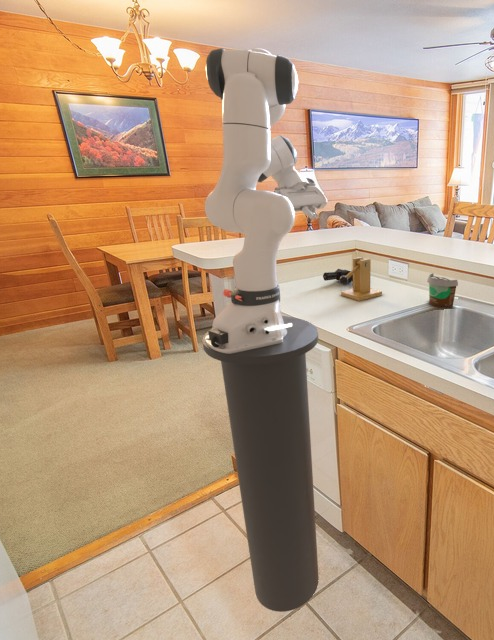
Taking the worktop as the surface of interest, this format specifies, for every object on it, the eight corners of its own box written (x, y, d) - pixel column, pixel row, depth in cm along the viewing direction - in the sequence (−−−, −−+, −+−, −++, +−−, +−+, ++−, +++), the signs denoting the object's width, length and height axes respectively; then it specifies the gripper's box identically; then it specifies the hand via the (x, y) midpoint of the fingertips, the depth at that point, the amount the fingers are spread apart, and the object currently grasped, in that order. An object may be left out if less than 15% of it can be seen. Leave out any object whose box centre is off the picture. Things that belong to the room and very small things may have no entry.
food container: (418, 302, 159) (420, 275, 155) (430, 299, 163) (432, 272, 159) (444, 311, 151) (446, 282, 147) (455, 307, 154) (458, 279, 150)
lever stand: (358, 301, 159) (358, 263, 153) (341, 295, 165) (340, 258, 159) (382, 294, 167) (382, 258, 161) (364, 289, 173) (364, 254, 167)
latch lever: (345, 287, 157) (341, 280, 155) (339, 285, 159) (336, 278, 157) (368, 265, 162) (365, 258, 159) (362, 264, 164) (359, 257, 161)
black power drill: (379, 272, 182) (354, 266, 191) (345, 275, 168) (319, 268, 177) (378, 285, 184) (353, 278, 193) (344, 288, 170) (319, 281, 179)
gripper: (275, 181, 146) (298, 214, 145) (317, 179, 161) (338, 209, 160) (267, 194, 150) (289, 227, 149) (309, 191, 165) (329, 221, 165)
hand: (315, 218), depth 155 cm, fingers closed
